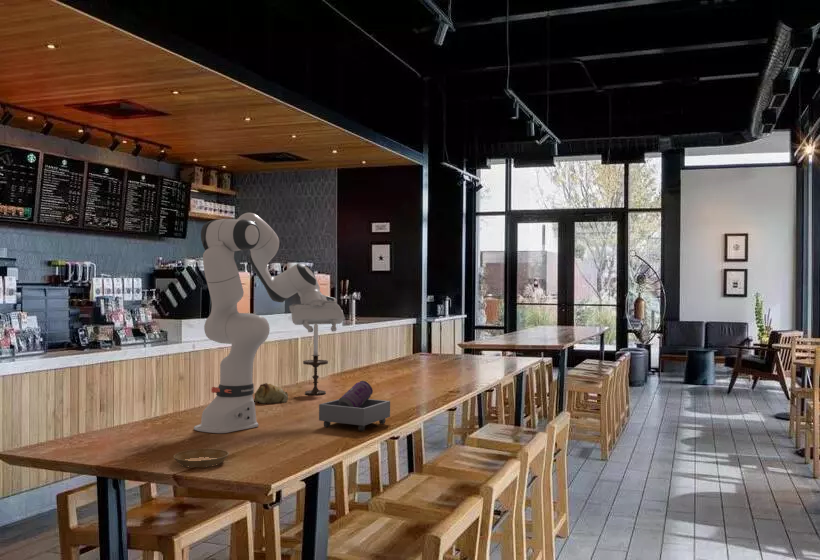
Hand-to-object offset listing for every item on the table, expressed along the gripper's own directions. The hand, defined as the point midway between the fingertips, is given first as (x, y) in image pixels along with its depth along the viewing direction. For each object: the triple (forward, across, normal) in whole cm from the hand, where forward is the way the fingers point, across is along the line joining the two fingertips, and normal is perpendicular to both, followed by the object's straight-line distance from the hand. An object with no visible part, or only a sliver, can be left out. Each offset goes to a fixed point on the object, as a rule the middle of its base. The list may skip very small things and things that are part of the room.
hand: (322, 330), depth 281 cm
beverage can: (+35, -2, 0) cm, 35 cm away
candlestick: (-10, +15, +55) cm, 58 cm away
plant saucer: (+60, -58, -16) cm, 85 cm away
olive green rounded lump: (-2, -9, +48) cm, 48 cm away
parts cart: (+40, +2, +4) cm, 41 cm away
